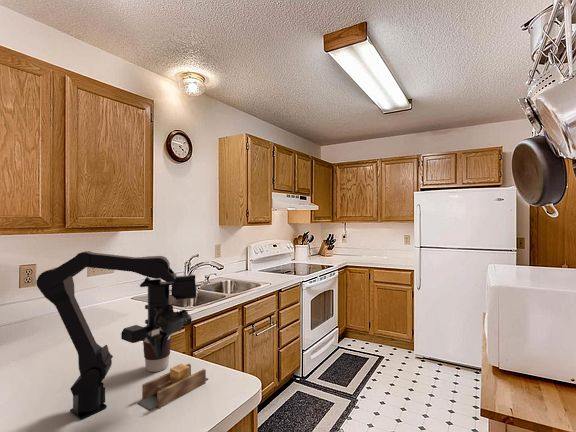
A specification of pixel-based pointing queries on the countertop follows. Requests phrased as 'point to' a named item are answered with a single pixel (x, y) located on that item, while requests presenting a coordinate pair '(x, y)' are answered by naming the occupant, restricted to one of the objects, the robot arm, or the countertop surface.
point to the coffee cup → (152, 360)
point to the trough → (169, 389)
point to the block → (179, 373)
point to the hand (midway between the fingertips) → (159, 356)
